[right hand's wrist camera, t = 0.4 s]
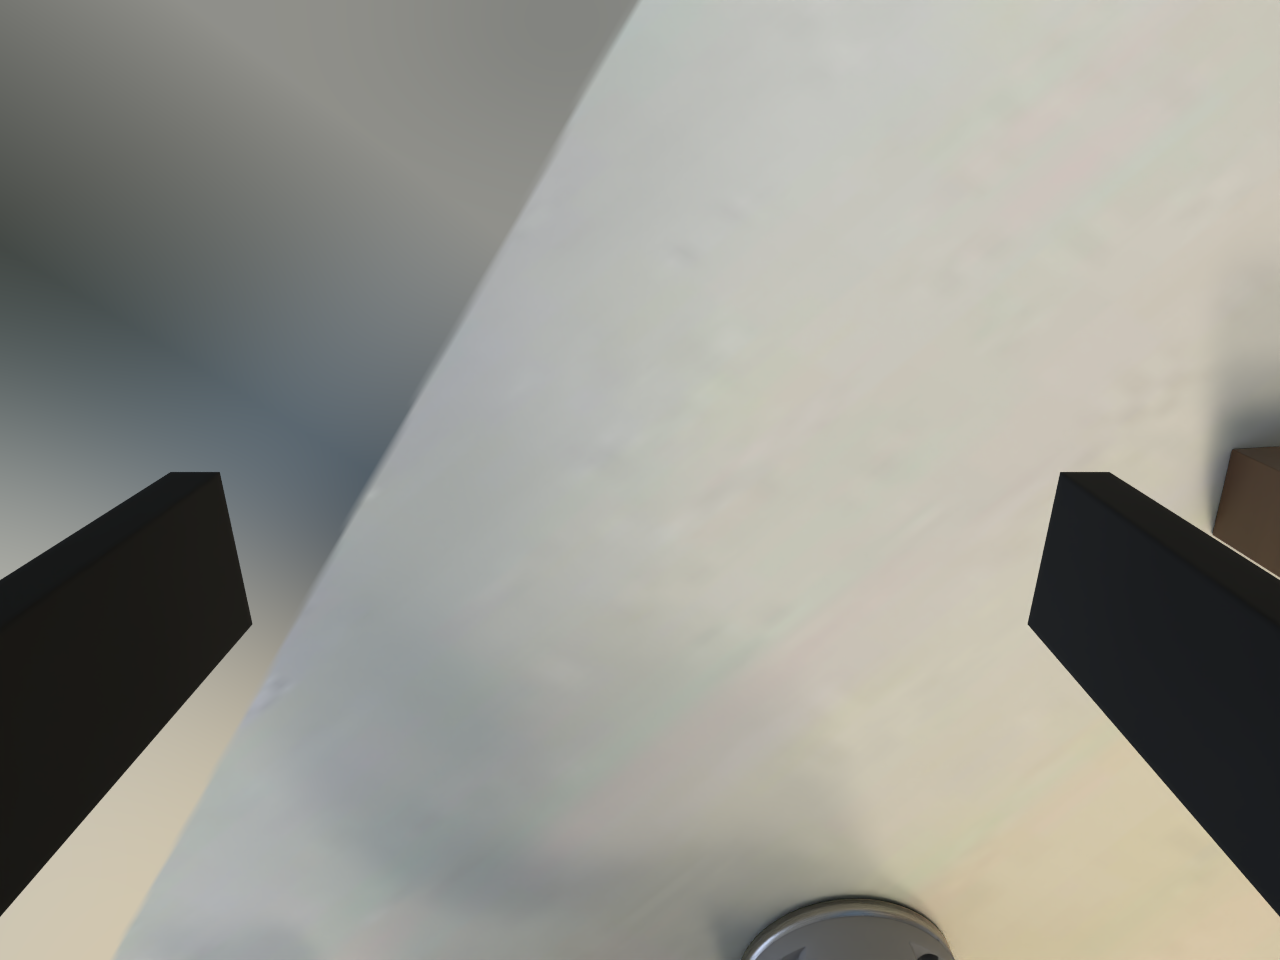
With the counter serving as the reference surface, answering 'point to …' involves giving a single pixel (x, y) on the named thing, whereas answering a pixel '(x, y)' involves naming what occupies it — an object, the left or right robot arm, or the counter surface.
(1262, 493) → the walnut beam
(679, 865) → the counter surface
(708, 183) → the counter surface
